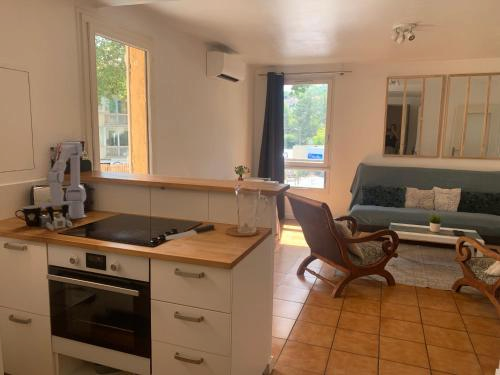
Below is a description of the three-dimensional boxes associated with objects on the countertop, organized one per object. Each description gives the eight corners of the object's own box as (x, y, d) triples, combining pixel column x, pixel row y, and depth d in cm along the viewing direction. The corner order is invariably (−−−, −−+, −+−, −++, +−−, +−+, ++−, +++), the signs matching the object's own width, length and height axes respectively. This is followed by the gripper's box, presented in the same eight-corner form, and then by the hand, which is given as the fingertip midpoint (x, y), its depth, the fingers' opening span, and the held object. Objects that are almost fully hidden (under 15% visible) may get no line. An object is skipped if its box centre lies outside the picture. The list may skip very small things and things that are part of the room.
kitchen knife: (168, 239, 176) (163, 234, 179) (168, 244, 177) (162, 239, 180) (218, 227, 196) (212, 223, 199) (217, 231, 197) (211, 227, 200)
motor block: (39, 225, 203) (38, 214, 202) (66, 221, 213) (66, 210, 212) (42, 227, 199) (41, 216, 198) (70, 223, 208) (69, 212, 207)
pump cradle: (45, 227, 200) (44, 222, 200) (67, 223, 207) (67, 219, 207) (50, 230, 193) (49, 225, 193) (73, 226, 201) (73, 222, 201)
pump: (52, 226, 201) (51, 215, 200) (62, 225, 204) (61, 214, 203) (55, 229, 197) (54, 217, 196) (65, 227, 200) (65, 216, 199)
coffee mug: (46, 223, 208) (44, 205, 206) (35, 227, 199) (34, 208, 198) (26, 222, 209) (24, 205, 208) (15, 226, 201) (13, 208, 199)
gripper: (43, 197, 191) (45, 223, 193) (73, 194, 200) (75, 219, 202) (39, 195, 196) (41, 221, 198) (69, 192, 205) (70, 217, 207)
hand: (58, 220), depth 200 cm, fingers closed on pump, 5 cm apart
